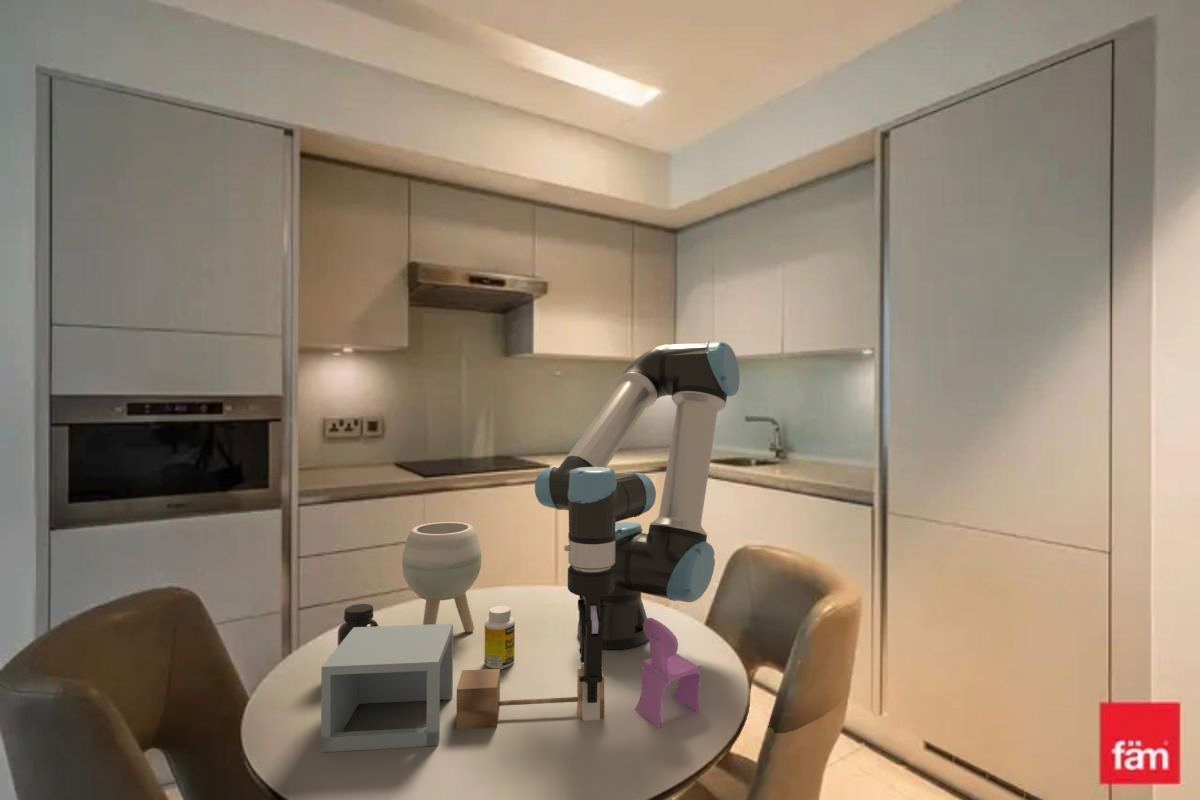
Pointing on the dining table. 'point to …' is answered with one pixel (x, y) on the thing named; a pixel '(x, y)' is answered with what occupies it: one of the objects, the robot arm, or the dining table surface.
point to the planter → (442, 566)
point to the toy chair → (665, 673)
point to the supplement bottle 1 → (356, 619)
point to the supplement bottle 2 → (499, 638)
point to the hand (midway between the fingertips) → (589, 712)
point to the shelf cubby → (386, 683)
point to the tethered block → (483, 698)
